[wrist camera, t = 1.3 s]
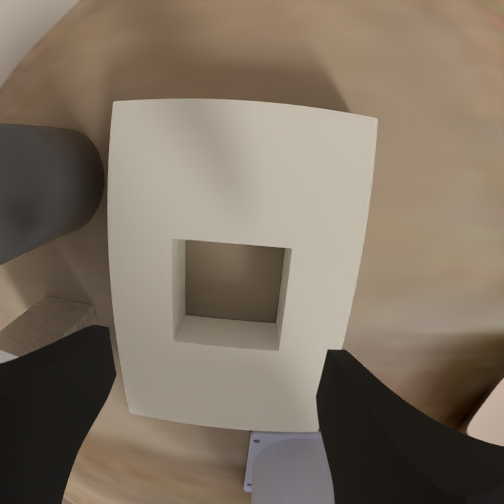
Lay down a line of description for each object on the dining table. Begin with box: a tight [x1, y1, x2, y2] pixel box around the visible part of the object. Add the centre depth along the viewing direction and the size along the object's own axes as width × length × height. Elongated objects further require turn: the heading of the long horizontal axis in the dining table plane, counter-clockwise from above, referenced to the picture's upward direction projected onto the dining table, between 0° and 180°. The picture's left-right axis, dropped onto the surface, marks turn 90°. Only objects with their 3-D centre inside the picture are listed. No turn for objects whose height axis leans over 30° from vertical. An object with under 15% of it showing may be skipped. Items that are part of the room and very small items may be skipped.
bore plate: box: [107, 99, 378, 432], centre depth 16 cm, size 18×12×3 cm, turn 175°
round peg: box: [0, 123, 104, 265], centre depth 13 cm, size 6×6×7 cm
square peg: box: [0, 296, 97, 363], centre depth 16 cm, size 4×4×7 cm
